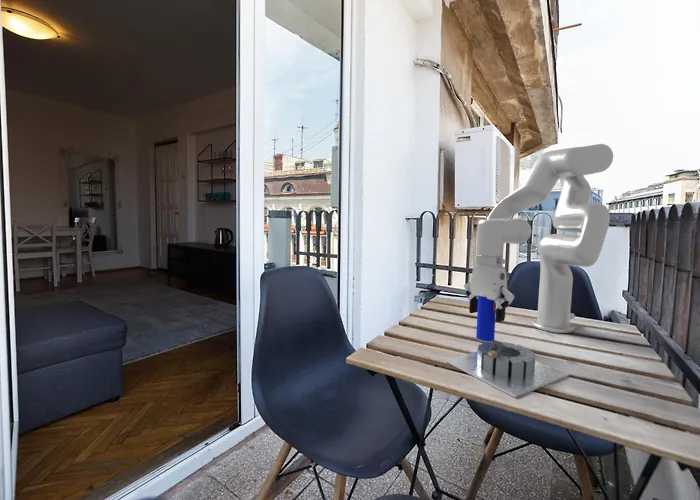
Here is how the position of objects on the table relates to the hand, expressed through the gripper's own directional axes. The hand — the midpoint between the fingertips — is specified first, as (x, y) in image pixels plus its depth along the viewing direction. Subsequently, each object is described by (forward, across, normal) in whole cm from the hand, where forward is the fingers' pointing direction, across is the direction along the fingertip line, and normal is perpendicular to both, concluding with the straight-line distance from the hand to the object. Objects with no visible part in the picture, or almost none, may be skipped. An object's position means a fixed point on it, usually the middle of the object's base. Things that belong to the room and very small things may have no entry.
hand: (486, 316), depth 108 cm
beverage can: (+8, 0, 0) cm, 8 cm away
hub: (+7, -16, +12) cm, 21 cm away
